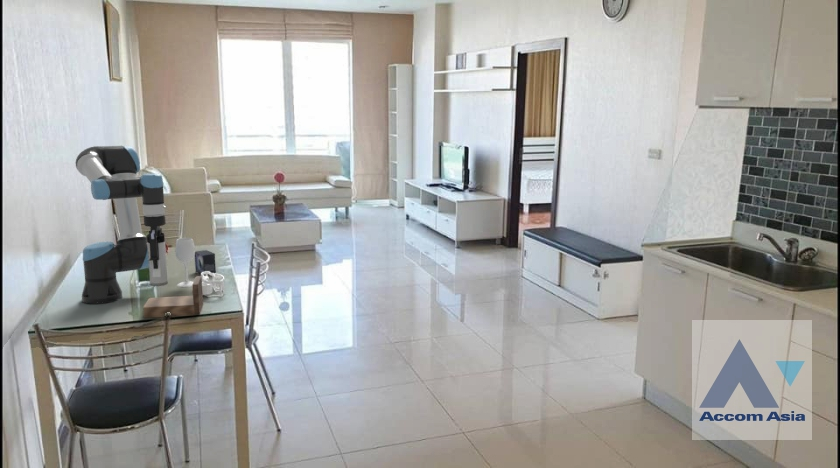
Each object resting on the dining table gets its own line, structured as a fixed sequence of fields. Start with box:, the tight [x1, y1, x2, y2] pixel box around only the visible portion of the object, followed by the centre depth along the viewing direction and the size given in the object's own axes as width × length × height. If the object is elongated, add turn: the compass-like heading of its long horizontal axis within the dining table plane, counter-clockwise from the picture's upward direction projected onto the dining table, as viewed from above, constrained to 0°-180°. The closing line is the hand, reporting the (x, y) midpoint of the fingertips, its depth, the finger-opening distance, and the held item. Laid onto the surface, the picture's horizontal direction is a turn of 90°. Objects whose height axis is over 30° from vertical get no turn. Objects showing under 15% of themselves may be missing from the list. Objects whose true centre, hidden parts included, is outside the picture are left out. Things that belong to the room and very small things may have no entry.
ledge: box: [142, 275, 204, 318], centre depth 243 cm, size 20×13×12 cm, turn 103°
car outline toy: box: [200, 271, 226, 298], centre depth 269 cm, size 20×11×7 cm, turn 24°
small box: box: [194, 249, 217, 276], centre depth 301 cm, size 11×6×10 cm, turn 42°
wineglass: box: [174, 237, 196, 288], centre depth 279 cm, size 9×9×21 cm
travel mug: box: [146, 232, 169, 287], centre depth 239 cm, size 6×7×20 cm
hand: (158, 274), depth 240 cm, fingers closed on travel mug, 6 cm apart
